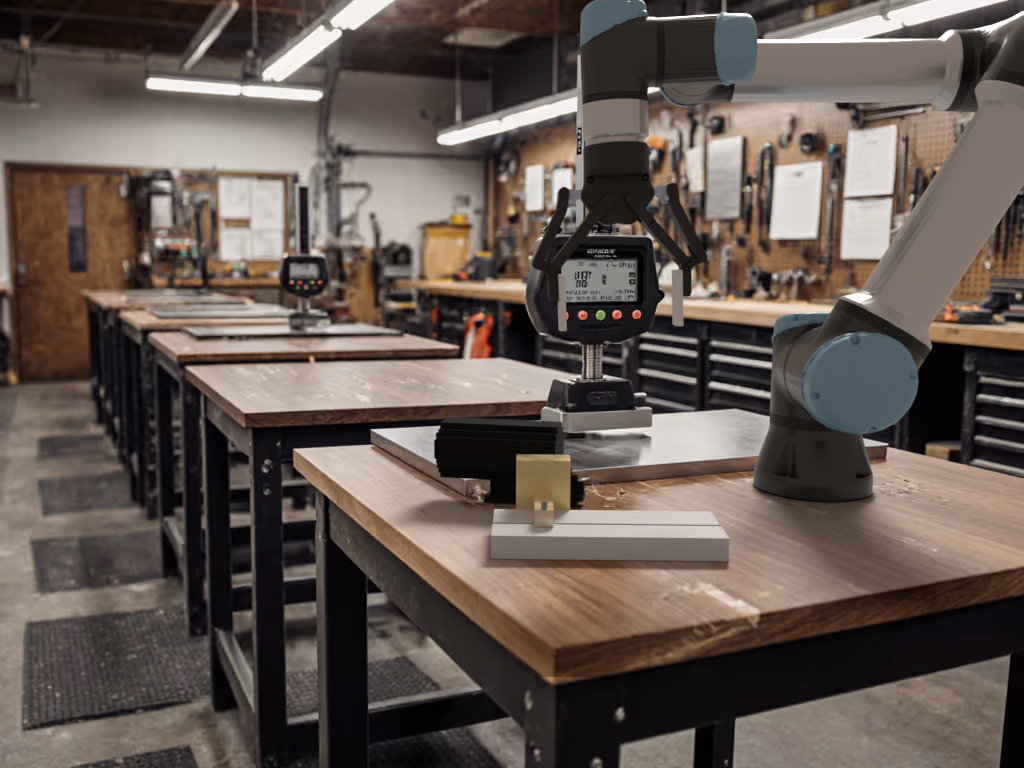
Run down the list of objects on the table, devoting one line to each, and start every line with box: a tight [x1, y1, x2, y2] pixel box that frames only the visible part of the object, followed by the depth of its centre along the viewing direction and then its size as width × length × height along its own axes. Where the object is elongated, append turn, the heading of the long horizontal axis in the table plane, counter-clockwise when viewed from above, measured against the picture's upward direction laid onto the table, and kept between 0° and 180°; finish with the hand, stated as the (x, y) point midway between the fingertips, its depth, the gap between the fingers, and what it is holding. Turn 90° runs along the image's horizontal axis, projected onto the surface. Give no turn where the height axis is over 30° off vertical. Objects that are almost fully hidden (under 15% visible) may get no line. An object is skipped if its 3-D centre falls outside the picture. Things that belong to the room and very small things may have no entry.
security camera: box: [433, 416, 586, 509], centre depth 117 cm, size 7×18×10 cm, turn 78°
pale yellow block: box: [515, 454, 572, 527], centre depth 103 cm, size 6×10×8 cm, turn 179°
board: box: [490, 508, 731, 562], centre depth 101 cm, size 24×10×2 cm, turn 89°
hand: (620, 328), depth 111 cm, fingers open, 13 cm apart
